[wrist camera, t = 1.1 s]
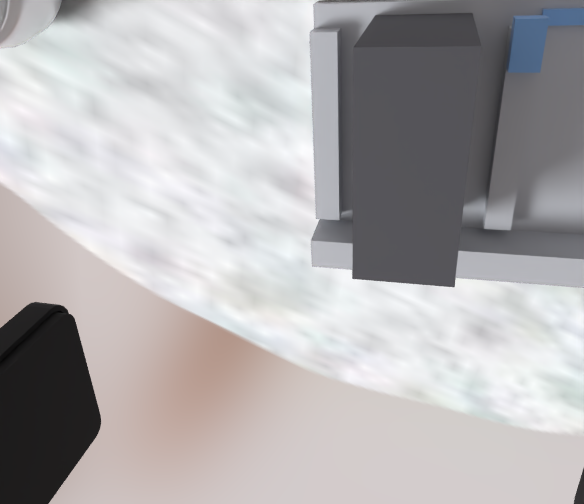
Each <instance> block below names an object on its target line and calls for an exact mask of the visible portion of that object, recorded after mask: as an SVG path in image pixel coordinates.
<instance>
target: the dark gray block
mask: <svg viewBox="0 0 584 504" xmlns="http://www.w3.org/2000/svg"><path fill="white" fill-rule="evenodd" d="M481 49H482V45H481V42H480V38H479V34H478V31H477V27H476V24H475V20H474V17H473V13H449V14H405V15H375V16H374V18H373V19H372V21H371V22H370V24H369V25H368V27H367V28H366V29H365V31H364V32H363V34H362V35H361V37H360V38H359V40H358V41H357V43H356V44H355V45H354V47H353V269H352V279H362V280H374V281H386V282H398V283H410V284H422V285H435V286H447V287H454V286H455V277H456V268H457V260H458V251H459V242H460V233H461V224H462V216H463V207H464V198H465V189H466V181H467V172H468V163H469V154H470V145H471V137H472V128H473V119H474V110H475V101H476V93H477V84H478V75H479V66H480V58H481Z"/></svg>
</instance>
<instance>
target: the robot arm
mask: <svg viewBox="0 0 584 504" xmlns="http://www.w3.org/2000/svg"><path fill="white" fill-rule="evenodd" d="M100 425H101V417H100V412H99V408H98V405H97V401H96V397H95V394H94V390H93V386H92V382H91V378H90V374H89V371H88V367H87V363H86V359H85V356H84V352H83V348H82V345H81V341H80V337H79V333H78V329H77V326H76V322H75V319H74V317H73V316H72V315H71V314H69V313H68V310H67V309H66V308H65V307H64V306H61V305H55V304H47V303H39V302H34V303H31V304H29V305H27V306H26V307H25V308H23V310H21V311H20V312H19V313H18V314H16V315H15V316H14V317H13V318H12V319H11V320H9V321H8V322H7V323H6V324H5V325H4V326H2V327H1V328H0V504H48V503H49V502H50V501H51V499H52V498H53V496H54V495H55V494H56V492H57V491H58V489H59V488H60V487H61V485H62V484H63V482H64V481H65V480H66V478H67V477H68V475H69V474H70V473H71V471H72V470H73V468H74V467H75V466H76V464H77V463H78V461H79V460H80V459H81V457H82V456H83V455H84V453H85V452H86V450H87V449H88V448H89V446H90V444H91V443H92V442H93V441H94V439H95V438H96V436H97V434H98V432H99V430H100ZM574 504H584V469H583V472H582V475H581V479H580V482H579V485H578V489H577V492H576V496H575V500H574Z"/></svg>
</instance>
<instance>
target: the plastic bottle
mask: <svg viewBox="0 0 584 504" xmlns="http://www.w3.org/2000/svg"><path fill="white" fill-rule="evenodd" d="M61 1H62V0H0V49H1V48H10V47H16V46H19V45H21V44H24V43H26V42H28V41H29V40H31V39H32V38H34V37H35V36H36V35H38V34H39V33H41V32H42V31H44V30H45V29H46V28H48V27H49V25H50V24H51V23H52V22H53V20H54V19H55V17H56V15H57V13H58V11H59V9H60V5H61Z"/></svg>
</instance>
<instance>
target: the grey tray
mask: <svg viewBox="0 0 584 504" xmlns="http://www.w3.org/2000/svg"><path fill="white" fill-rule="evenodd" d="M313 6H314V29H313V30H312V31H311V32H310V58H311V87H312V116H313V145H314V174H315V204H316V219H320V220H319V222H318V225H317V227H316V230H315V232H314V234H313V237H312V239H311V255H312V266H313V267H326V268H338V269H351V270H352V269H353V47H354V45H355V44H356V43H357V41H358V40H359V38H360V37H361V35H362V34H363V32H364V31H365V29H366V28H367V27H368V25H369V24H370V22H371V21H372V19H373V18H374V16H375V15H405V14H449V13H473V17H474V20H475V24H476V27H477V31H478V34H479V38H480V42H481V45H482V49H481V58H480V66H479V75H478V84H477V93H476V101H475V110H474V119H473V128H472V137H471V145H470V154H469V163H468V172H467V181H466V189H465V198H464V207H463V216H462V224H461V233H460V242H459V251H458V260H457V268H456V277H455V278H465V279H478V280H490V281H503V282H516V283H528V284H541V285H554V286H566V287H579V288H584V0H385V1H349V2H316V3H315V4H313Z"/></svg>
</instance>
